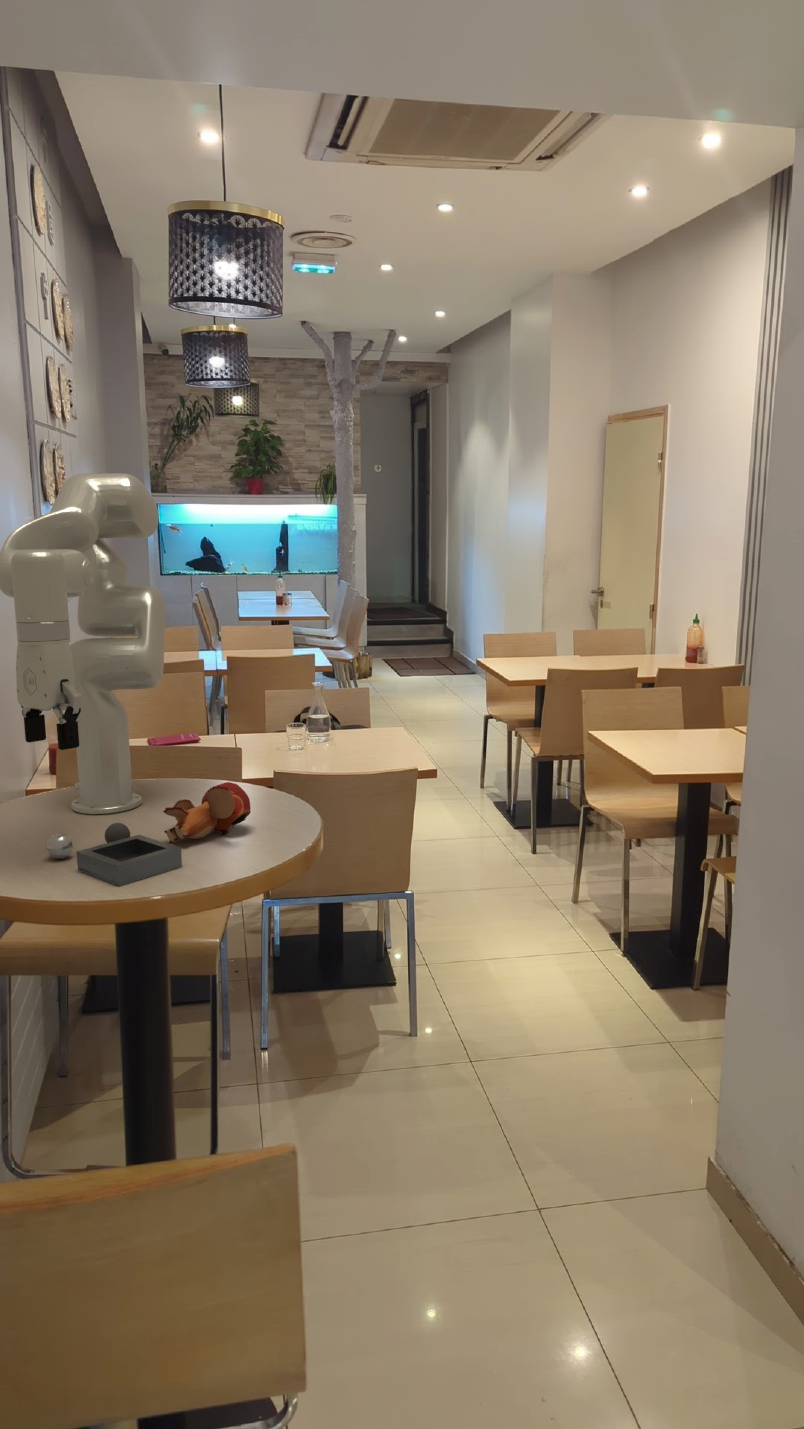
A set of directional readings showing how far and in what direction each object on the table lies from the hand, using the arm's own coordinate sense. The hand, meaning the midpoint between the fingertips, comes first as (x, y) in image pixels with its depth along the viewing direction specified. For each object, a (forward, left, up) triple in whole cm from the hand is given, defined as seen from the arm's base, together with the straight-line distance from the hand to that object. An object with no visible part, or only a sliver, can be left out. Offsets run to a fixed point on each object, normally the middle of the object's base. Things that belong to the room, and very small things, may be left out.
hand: (52, 744), depth 150 cm
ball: (+2, +9, -16) cm, 19 cm away
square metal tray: (+13, +4, -18) cm, 23 cm away
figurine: (+8, +22, -19) cm, 30 cm away
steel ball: (0, 0, -16) cm, 16 cm away
